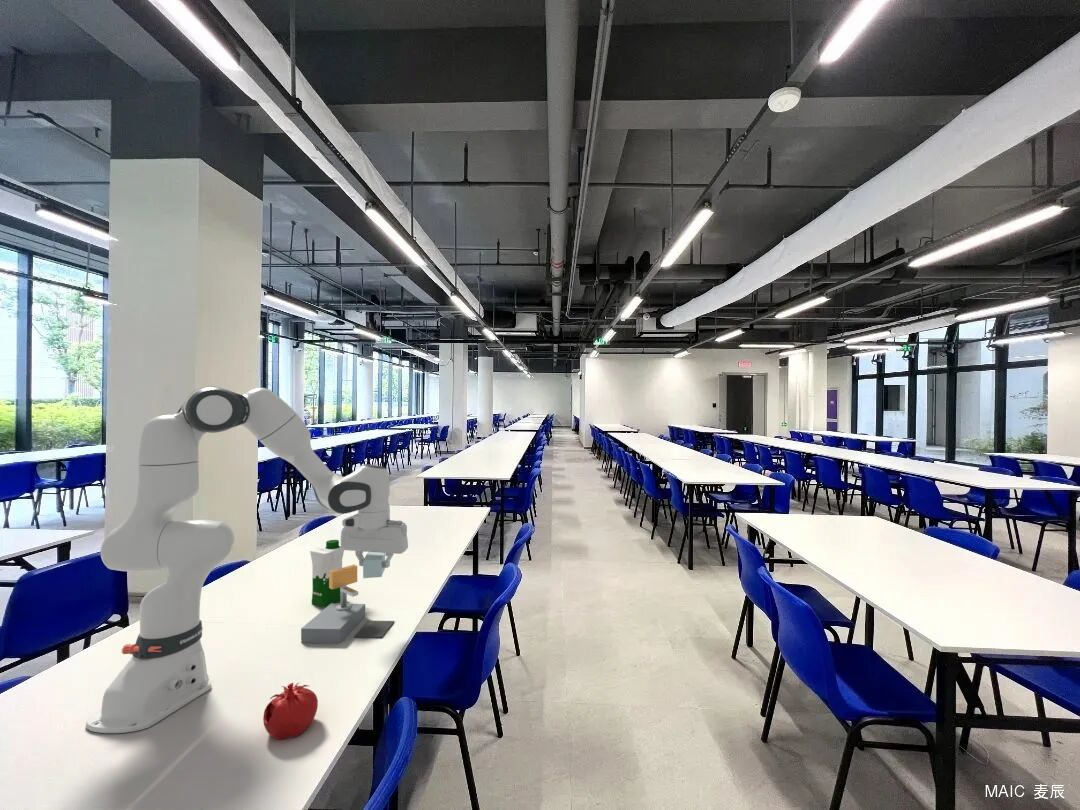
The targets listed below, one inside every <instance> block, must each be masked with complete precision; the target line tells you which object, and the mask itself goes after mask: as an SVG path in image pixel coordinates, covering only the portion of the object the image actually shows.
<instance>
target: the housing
mask: <svg viewBox="0 0 1080 810" xmlns="http://www.w3.org/2000/svg"><path fill="white" fill-rule="evenodd" d="M365 618H366V603H348V602H347V606H346V607H344V608H341V607H340V603H336V604H335V603H331V604H330V605H329V606H327V607H326V608H323V610H321V611H320V612H319V613H318V614H317V615H316V616H314V617H313V618H312V619H311V620H309V621H308V622H307V623H306V624H304V626H302V627H301V629H300V638H301V639H300V642H301V644H341V643H342V642H343V641H344V640H345V639H346V638H347V637H348V636H349V635H350V633H351V632H352V631H353V630H354V629H355V628H356V627H357V626H358V625H359V624H360V623H361V622H362V621H363V620H364V619H365Z"/></svg>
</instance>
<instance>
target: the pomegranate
mask: <svg viewBox="0 0 1080 810" xmlns="http://www.w3.org/2000/svg"><path fill="white" fill-rule="evenodd" d="M299 684H300V682H297V683H296V684H295V685H294V682H291V683H289V684H287V686H284V685H283V686H282V685H281V688H283V691H282V692H281V693H280V694H274V695H272V696H271V697H269V699H270V700H271V701H269V703H268V704H267V705H266V707H265V709H264V712H263V717H262V721H263V726H264V729H265V730H266V733H268V735H269V736H270V737H272V738H273V739H277V740H284V739H285V740H286V739H288V738H295V737H298V736H299V735H301V734H303V732H304V731H306V730H307V729H308V728H309V727H310V726H311V724H313V722H314V719H315V716H316V715H317V712H318V708H319V707H318V705H319V704H318V700H319V699H318V696H317V695H316V694H315V692H314V691H312V690H311V689H309V688H307V687H309V685H307V684H303V685H299Z"/></svg>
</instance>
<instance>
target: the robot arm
mask: <svg viewBox="0 0 1080 810" xmlns="http://www.w3.org/2000/svg"><path fill="white" fill-rule="evenodd" d="M238 426H242V427H244V428H246V430H248V431H249V432H251V433H252V435H254V437H255V438H256V439H257V440H258V441H259V442H260V443H261V444H263V446H264V447H265V448H267V449H268V450H269V451H270V452H272V453H273V454H274V455H276V456H277V457H279V458H281V459H282V460H284V461H286V462H288V463H289V464H291V465H293V467H294V468H296V470H297V471H298V472H299V473H300V474H301V475H302V476H303V477H304V478H305V479H306V480H307V481H308V482H309V484H310V485H311V487H312V490H313V492H314V493H313V494H314V496H315V498H316V501H317V502H318V504H320V505H321V506H322V507H324V508H327V509H329V510H331V511H332V512H335V513H336V514H340V515H341V514H345V515H346V514H350V513H354V512H356V511H357V513H356V514H354V515H350V516H347V517H346V518H344V519H343V520H342V522H341V524H342V527H343V528H342V529H341V532H340V547H341V548H342V549H343V550H344V551H349V552H352V551H353V552H355V554H354V555H355V556H356V558H357V560H358V566H359V567H363V560H364V558H365V556H364V554H363V553H364V552H367V553H368V552H379V553H385V557H386V558H385V561H383V562H382V567H383V568H385V569H388V568H389V567H390V566H391V559H392V558H393V556H394V555H395V554H398V555H400V554H404V553H405V552H406V551H407V549H409V541H408V535H407V533H408V526H407V524H406V523H405V522H403V521H402V520H391V510H390V509H391V507H390V506H391V505H390V503H389V498H390V494H391V492H390V490H391V489H390V479H389V478H390V477H389V473H388V469H386V468H385V467H384V466H380V465H376V464H361V465H360V466H359V468H357V469H356V470H354V471H353V472H351V473H350V474H347V475H345V476H343V475H341V474H339V473H336V472H333V471H332V470H330V469H329V467H328V466H327V465H326V464H325V463H324V461H322V459H320V457H319V456H318V455H317V454H316V453H315V451H314V450H313V448H312V445H311V439H312V438H311V437H312V436H311V435H312V434H311V431H310V430H309V428H308V427H307V425H306V423H305V421H304V420H303V419H302V418H301V417H300V416H299V414H298V413H296V411H295V410H294V409H293V408H292V407H291V406H290V405H289V404H288V403H287V402H285V401H284V400H283V399H282V398H281V397H280V396H279V395H277V394H276V393H275V392H273V391H272V390H271V389H268V388H265V387H257V388H254V389H250V390H249V391H246V392H245V393H244V394H240V393H237V392H234V391H232V390H228V389H226V388H222V387H219V386H212V385H211V386H204V387H200V388H197V389H196V390H193V392H191V393H190V394H189V395H188V396H187V397H186V399H185V400H184V402H183V404H182V405H181V407H180V408H179V410H177V412H176V413H174V414H164V415H163V414H162V415H158V416H156V417H153V418H151V419H149V420H148V421H146V423H145V424H144V426H143V428H142V433H141V435H140V437H141V438H140V444H139V450H138V483H137V484H138V485H137V497H136V500H135V503H134V506H133V508H132V510H131V511H130V514H129V515H128V516H127V518H125V520H124V521H123V522H122V523H121V524H119V525H118V526H117V527H115V528H113V530H111V531H110V532H109V533H108V534H107V536H106V537H105V538H104V540H103V541H102V544H101V547H100V558H101V561H102V562H103V564H104V566H105V567H106V568H107V569H109V570H112V571H113V570H114V571H120V572H128V573H129V572H131V573H138V572H139V573H140V572H151V571H152V572H153V571H167V573H168V575H167V576H168V577H167V580H166V581H165V582H162V584H160V585H158V586H155V587H154V588H153V589H151V590H150V591H148V592H147V593H145V595H144V597H142V599H141V602H140V605H139V634H138V635H137V638H136V640H135V643H134V644H131V643H126V644H124V645H123V647H122V648H121V654H122V655H132V657H131V658H130V659H129V661H128V662H127V663H126V664H125V665H124V667H123V668H122V669H121V670H120V672H118V674H117V676H116V677H115V678H114V679H113V681H112V682H111V683H110V684H109V686H108V687H107V688H106V689H105V691H104V692H103V693H104V694H103V697H102V703H101V708H100V710H98V711H97V712H96V713H95V714H93V715H92V716H91V717H90V718H89V719H87V721H85V728H86V729H87V730H88V729H89V730H88V731H90V732H95V733H101V734H124V733H125V734H126V733H132V732H137V731H141V730H145V729H148V728H150V727H152V726H154V725H155V724H157V723H158V722H160V721H162V720H163V719H165V718H166V717H168V716H170V715H171V714H173V713H174V712H176V711H178V710H179V709H181V708H182V707H184V706H186V705H187V704H188V703H191V702H192V701H193V700H195V699H197V698H198V697H200V696H202V695H203V694H204V693H207V691H209V690H211V689H212V683H211V681H210V679H209V675H208V670H207V663H206V662H207V661H206V656H205V651H204V648H203V646H202V643H201V638H202V636H203V623H202V620H201V619H200V617H201V616H200V614H201V612H200V610H201V598H202V597H201V595H202V590H203V586H204V583H205V581H206V579H207V578H208V576H209V574H210V573H211V572H212V571H213V570H214V569H215V568H216V567H217V566H218V565H219V564H221V563H222V562H223V561H224V560H225V559H227V558H228V556H230V554H231V552H232V551H233V547H234V543H235V536H234V532H233V530H232V528H231V526H230V525H229V524H228V523H227V522H225V521H219V520H212V519H191V520H190V519H189V520H173V513H174V511H175V509H176V508H178V507H180V506H182V505H185V504H186V503H188V502H190V501H191V500H192V499H193V498H194V497H195V496H196V495H197V493H198V492H199V489H200V488H199V487H200V486H199V485H200V484H199V480H200V479H199V477H200V476H199V474H200V473H199V470H200V469H199V443H200V442H201V441H200V440H201V439H202V438H203V436H205V434H206V433H210V434H215V433H222V432H225V431H228V430H230V429H233V428H235V427H238Z"/></svg>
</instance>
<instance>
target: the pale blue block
mask: <svg viewBox="0 0 1080 810" xmlns="http://www.w3.org/2000/svg"><path fill="white" fill-rule="evenodd" d="M385 560H386V553H379V552H367V553H366V555H365V556H364V560H363V566H362V578H363V579H374V578H382V577H383V575H384V572H385V570H386V568H383V567H382V562H383V561H385Z"/></svg>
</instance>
